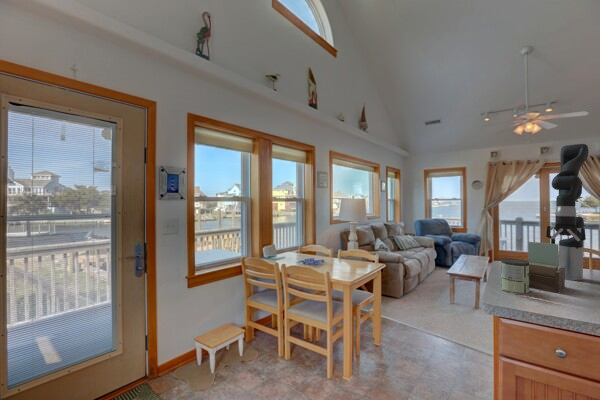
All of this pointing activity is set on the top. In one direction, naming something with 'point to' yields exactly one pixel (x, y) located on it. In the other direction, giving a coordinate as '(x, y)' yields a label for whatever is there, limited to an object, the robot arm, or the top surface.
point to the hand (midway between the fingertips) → (565, 247)
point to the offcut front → (542, 269)
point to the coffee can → (515, 276)
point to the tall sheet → (543, 253)
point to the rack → (548, 281)
